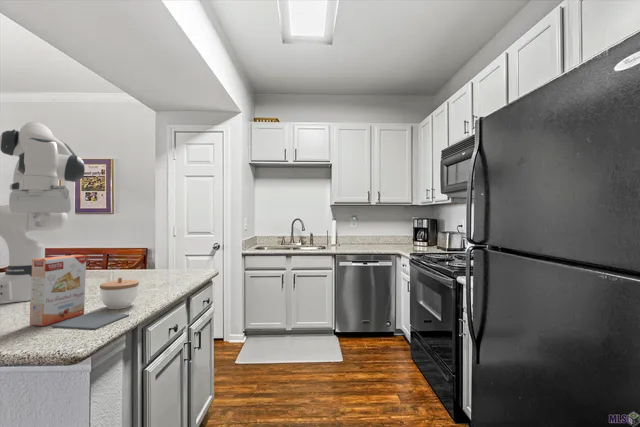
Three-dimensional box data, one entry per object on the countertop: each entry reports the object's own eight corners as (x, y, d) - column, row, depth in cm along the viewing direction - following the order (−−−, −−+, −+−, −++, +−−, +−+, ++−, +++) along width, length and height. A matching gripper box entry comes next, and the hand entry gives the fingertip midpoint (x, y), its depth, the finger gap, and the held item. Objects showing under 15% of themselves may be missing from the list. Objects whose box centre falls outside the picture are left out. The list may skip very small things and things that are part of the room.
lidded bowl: (90, 311, 115) (91, 280, 115) (114, 302, 128) (115, 274, 128) (124, 311, 115) (125, 281, 115) (145, 302, 127) (145, 275, 127)
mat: (51, 327, 98) (51, 325, 98) (90, 313, 111) (90, 312, 112) (95, 329, 96) (95, 327, 96) (129, 315, 110) (129, 314, 110)
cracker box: (44, 327, 98) (45, 259, 98) (28, 325, 99) (30, 258, 99) (85, 314, 111) (87, 254, 112) (71, 313, 113) (73, 254, 113)
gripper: (76, 186, 109) (75, 226, 109) (24, 187, 112) (23, 226, 111) (59, 184, 103) (58, 226, 102) (5, 185, 105) (3, 226, 105)
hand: (40, 226), depth 107 cm, fingers closed
